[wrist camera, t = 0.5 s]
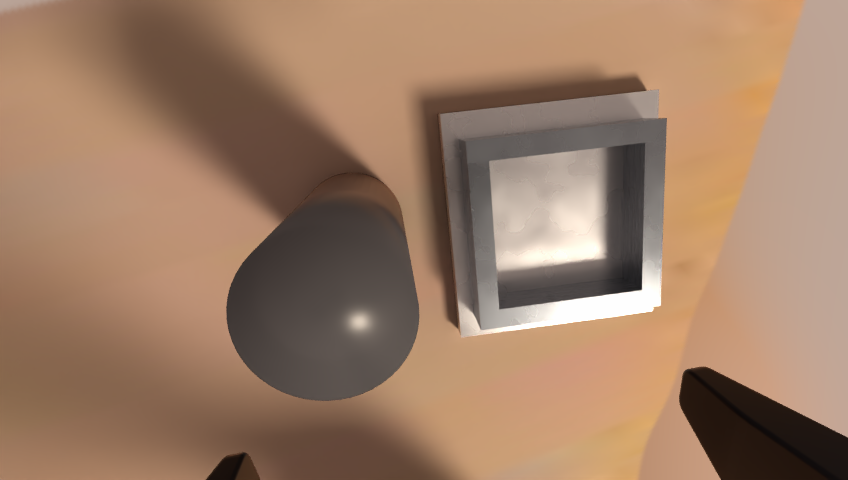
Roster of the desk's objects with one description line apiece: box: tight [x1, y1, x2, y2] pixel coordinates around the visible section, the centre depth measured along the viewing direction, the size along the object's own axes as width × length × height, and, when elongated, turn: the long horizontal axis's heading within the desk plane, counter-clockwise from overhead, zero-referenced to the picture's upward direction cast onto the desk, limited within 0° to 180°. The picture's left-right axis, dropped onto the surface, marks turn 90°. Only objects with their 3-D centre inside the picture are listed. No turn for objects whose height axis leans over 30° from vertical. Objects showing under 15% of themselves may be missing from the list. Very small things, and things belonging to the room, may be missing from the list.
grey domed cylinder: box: [226, 173, 419, 401], centre depth 18 cm, size 5×5×12 cm
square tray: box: [438, 90, 667, 337], centre depth 23 cm, size 12×11×3 cm
